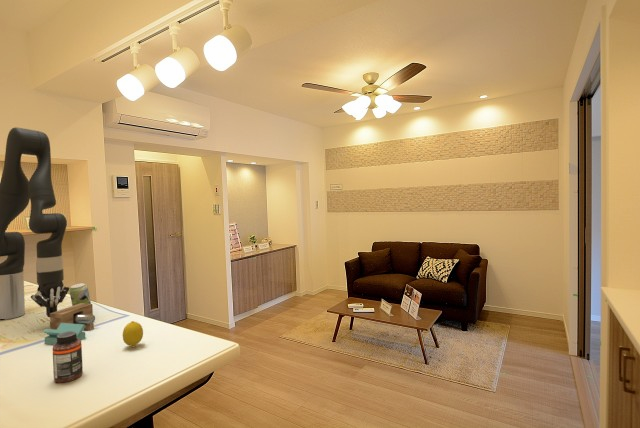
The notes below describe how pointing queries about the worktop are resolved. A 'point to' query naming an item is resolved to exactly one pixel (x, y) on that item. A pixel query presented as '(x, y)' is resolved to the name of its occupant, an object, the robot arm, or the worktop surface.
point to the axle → (83, 318)
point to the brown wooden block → (71, 315)
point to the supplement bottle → (67, 357)
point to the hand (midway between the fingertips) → (51, 316)
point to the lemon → (132, 333)
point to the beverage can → (79, 294)
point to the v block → (64, 328)
